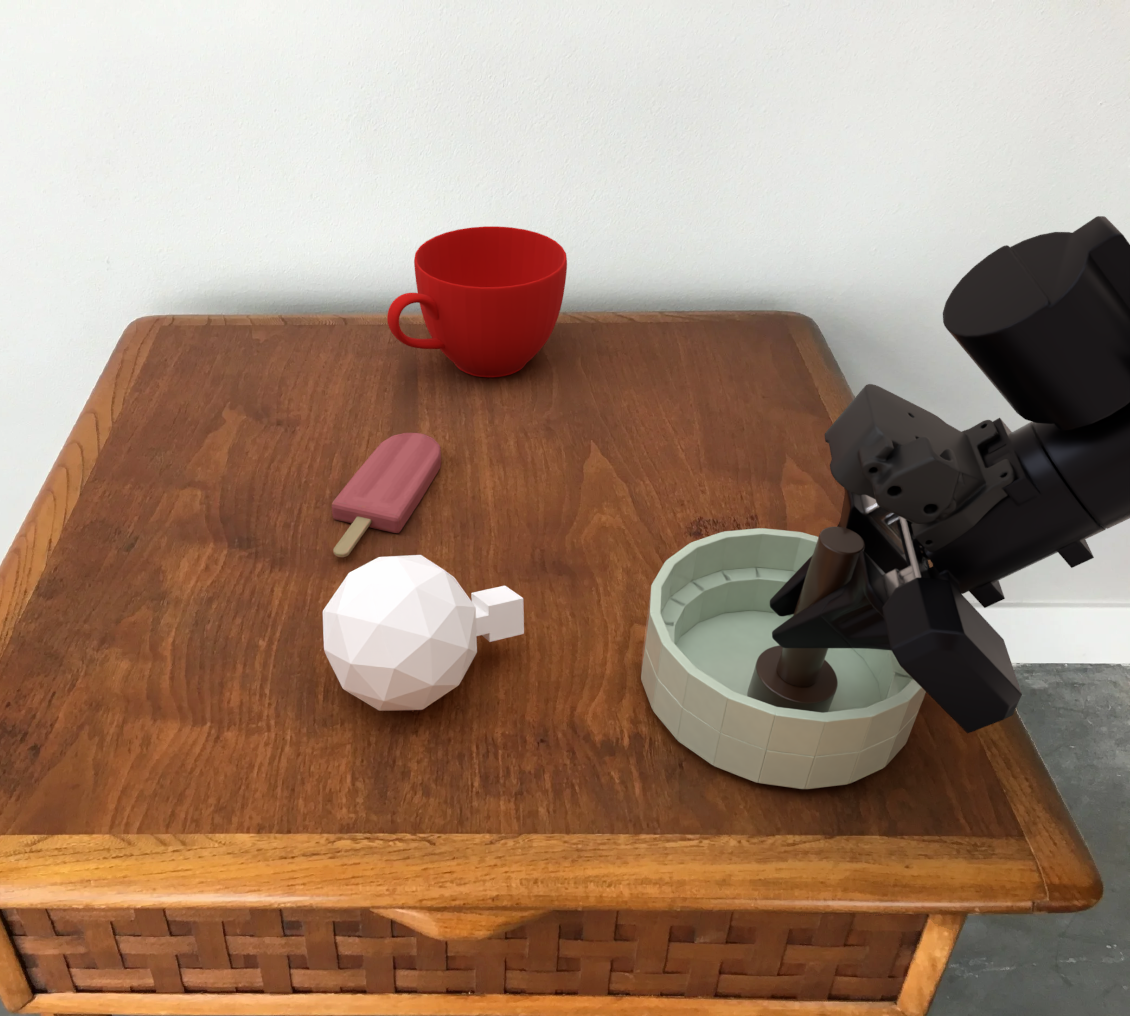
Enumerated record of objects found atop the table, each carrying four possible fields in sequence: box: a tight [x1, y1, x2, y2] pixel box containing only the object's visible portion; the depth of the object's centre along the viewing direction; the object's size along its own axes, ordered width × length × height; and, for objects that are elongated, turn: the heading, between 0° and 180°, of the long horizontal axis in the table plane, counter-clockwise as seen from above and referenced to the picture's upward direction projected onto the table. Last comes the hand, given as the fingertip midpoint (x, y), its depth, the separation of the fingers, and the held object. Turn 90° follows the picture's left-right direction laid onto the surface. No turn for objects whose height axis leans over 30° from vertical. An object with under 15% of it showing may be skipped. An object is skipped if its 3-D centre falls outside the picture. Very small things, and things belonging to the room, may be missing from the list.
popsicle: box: [331, 432, 442, 558], centre depth 74 cm, size 5×2×15 cm
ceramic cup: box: [386, 225, 568, 378], centre depth 88 cm, size 13×17×10 cm
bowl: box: [640, 527, 927, 790], centre depth 58 cm, size 15×15×6 cm
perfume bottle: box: [322, 554, 525, 712], centre depth 58 cm, size 9×9×12 cm
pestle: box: [747, 526, 865, 713], centre depth 54 cm, size 4×4×12 cm
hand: (775, 624), depth 54 cm, fingers closed on pestle, 2 cm apart
